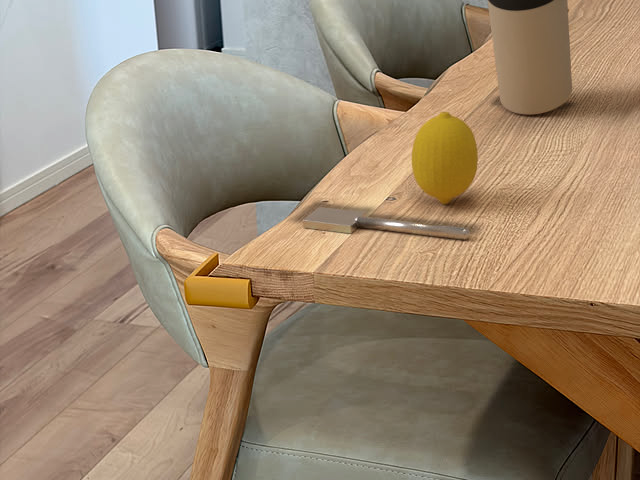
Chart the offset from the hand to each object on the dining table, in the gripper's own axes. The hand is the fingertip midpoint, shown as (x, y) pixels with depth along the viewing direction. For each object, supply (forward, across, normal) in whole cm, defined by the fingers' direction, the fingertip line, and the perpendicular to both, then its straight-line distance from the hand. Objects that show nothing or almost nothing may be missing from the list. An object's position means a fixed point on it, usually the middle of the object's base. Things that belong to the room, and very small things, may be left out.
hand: (544, 75), depth 105 cm
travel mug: (+1, +4, 0) cm, 4 cm away
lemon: (+2, +36, 0) cm, 36 cm away
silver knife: (+2, +43, -2) cm, 43 cm away
